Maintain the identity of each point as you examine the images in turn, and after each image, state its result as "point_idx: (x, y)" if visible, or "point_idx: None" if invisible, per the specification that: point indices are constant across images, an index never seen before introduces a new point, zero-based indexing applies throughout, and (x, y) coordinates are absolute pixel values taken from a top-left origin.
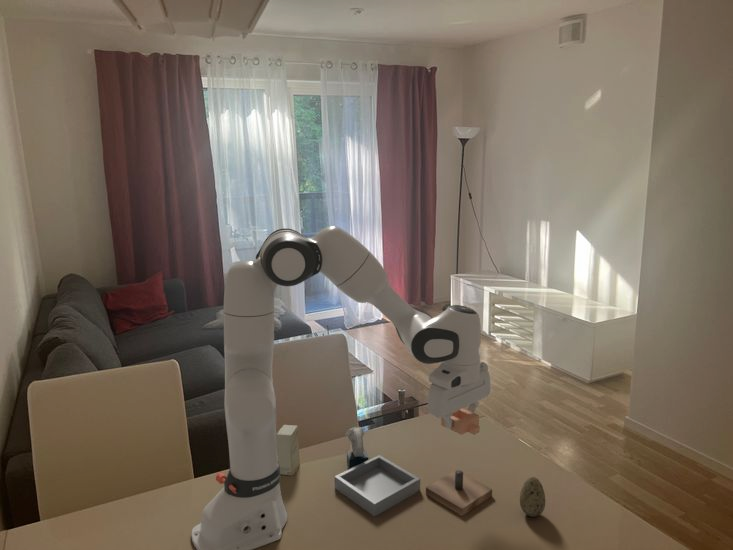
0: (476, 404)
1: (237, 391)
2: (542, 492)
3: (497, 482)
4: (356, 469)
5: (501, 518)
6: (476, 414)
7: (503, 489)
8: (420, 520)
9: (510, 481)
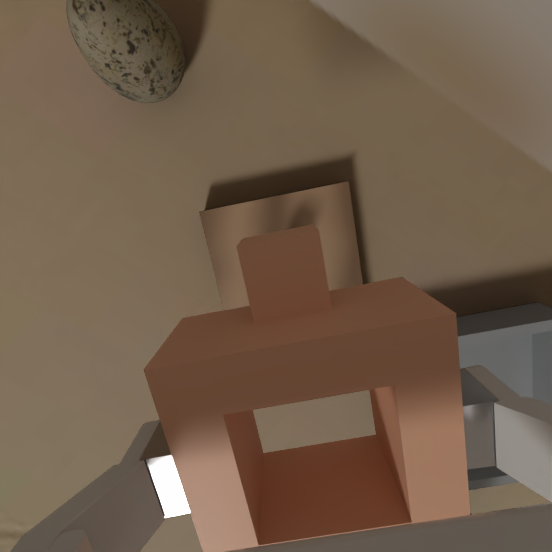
0: (54, 534)
1: None
2: None
3: (144, 254)
4: (492, 474)
5: (251, 110)
6: (160, 394)
7: (151, 218)
8: (451, 228)
9: (105, 238)
